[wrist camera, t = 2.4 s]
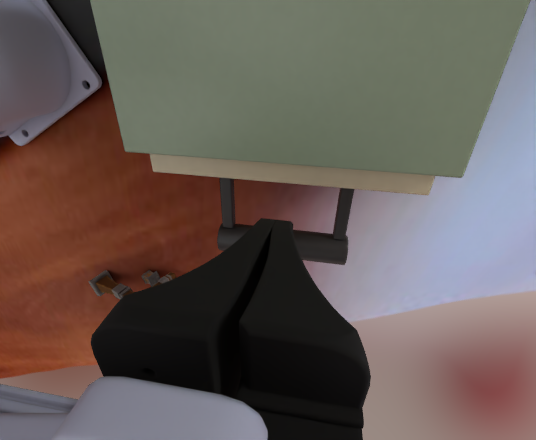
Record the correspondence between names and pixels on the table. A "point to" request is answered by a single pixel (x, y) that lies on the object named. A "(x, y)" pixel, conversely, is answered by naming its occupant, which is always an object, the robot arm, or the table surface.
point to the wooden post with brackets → (107, 285)
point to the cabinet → (308, 79)
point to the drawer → (347, 180)
